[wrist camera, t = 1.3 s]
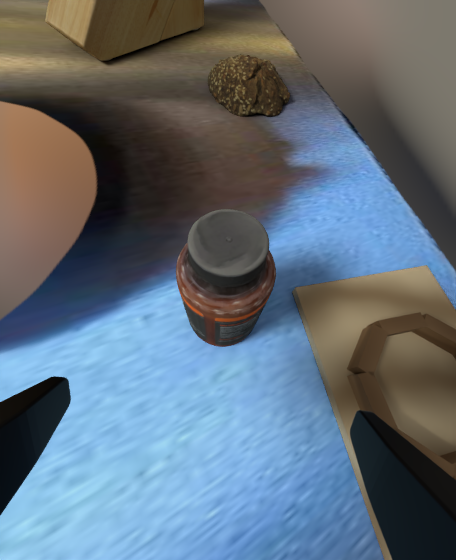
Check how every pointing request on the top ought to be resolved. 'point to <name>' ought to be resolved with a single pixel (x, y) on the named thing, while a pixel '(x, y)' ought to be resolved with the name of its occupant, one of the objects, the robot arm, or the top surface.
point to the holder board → (387, 359)
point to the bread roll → (248, 86)
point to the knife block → (122, 23)
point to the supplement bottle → (225, 275)
